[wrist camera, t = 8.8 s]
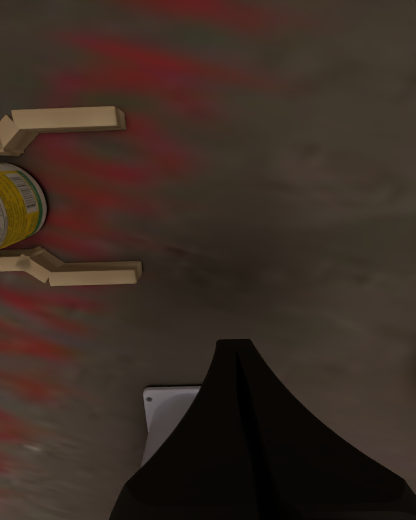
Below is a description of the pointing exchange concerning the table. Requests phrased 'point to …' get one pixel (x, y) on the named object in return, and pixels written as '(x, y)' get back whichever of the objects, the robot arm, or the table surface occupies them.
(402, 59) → the table surface
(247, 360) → the robot arm
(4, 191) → the supplement bottle
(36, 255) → the keyhole rails
